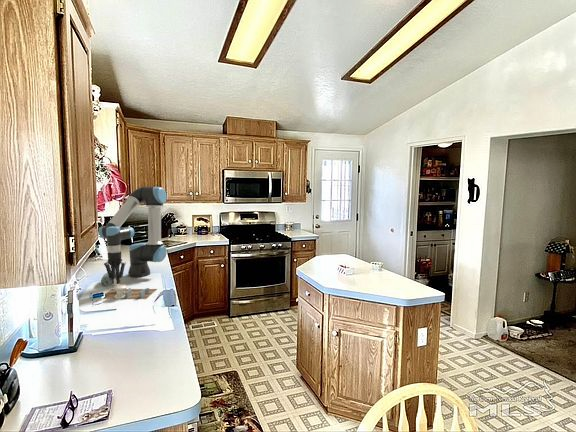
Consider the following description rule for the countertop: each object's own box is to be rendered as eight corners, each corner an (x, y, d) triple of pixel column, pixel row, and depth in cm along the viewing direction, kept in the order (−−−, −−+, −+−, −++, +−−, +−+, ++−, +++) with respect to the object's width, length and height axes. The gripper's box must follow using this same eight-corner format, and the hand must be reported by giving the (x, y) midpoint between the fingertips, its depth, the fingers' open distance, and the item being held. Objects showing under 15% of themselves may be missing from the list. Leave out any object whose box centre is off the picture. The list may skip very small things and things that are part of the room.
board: (112, 290, 223) (112, 288, 223) (157, 290, 223) (157, 288, 223) (96, 300, 205) (96, 298, 205) (146, 300, 205) (146, 299, 205)
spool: (115, 282, 228) (108, 269, 229) (102, 290, 227) (94, 276, 227) (122, 281, 242) (116, 268, 242) (109, 288, 240) (102, 275, 241)
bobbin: (117, 294, 212) (117, 285, 211) (129, 294, 212) (128, 285, 211) (112, 299, 205) (111, 289, 204) (123, 299, 205) (123, 289, 204)
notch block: (129, 293, 214) (129, 287, 214) (149, 293, 214) (149, 287, 214) (123, 298, 206) (122, 292, 206) (143, 298, 206) (143, 292, 206)
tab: (119, 290, 220) (119, 284, 220) (126, 290, 220) (125, 284, 220) (115, 292, 215) (115, 286, 215) (122, 293, 215) (121, 286, 215)
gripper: (100, 253, 211) (102, 290, 214) (121, 253, 211) (124, 290, 214) (107, 250, 219) (109, 286, 221) (127, 250, 218) (129, 287, 221)
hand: (116, 288), depth 218 cm, fingers closed
